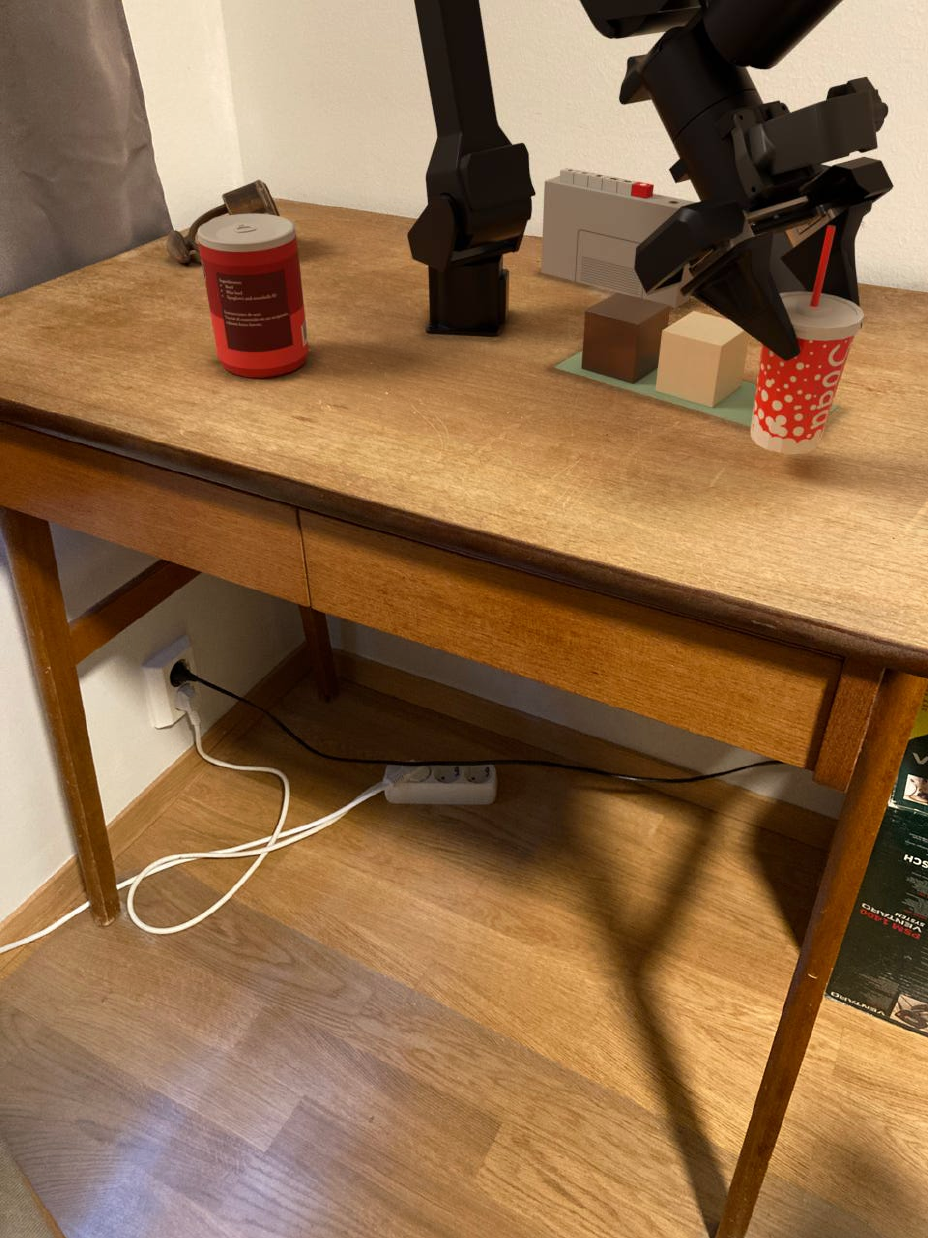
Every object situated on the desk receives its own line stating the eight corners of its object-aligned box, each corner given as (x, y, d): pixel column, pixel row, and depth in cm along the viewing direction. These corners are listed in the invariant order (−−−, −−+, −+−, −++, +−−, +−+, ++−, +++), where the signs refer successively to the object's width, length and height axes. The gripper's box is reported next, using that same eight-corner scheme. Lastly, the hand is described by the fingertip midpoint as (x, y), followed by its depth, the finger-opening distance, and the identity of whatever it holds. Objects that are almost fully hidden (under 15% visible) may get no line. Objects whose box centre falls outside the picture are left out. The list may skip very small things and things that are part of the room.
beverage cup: (775, 467, 65) (824, 248, 56) (720, 426, 69) (757, 217, 61) (850, 448, 67) (908, 234, 58) (792, 410, 71) (838, 205, 62)
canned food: (273, 334, 90) (256, 206, 83) (328, 360, 85) (316, 227, 78) (200, 359, 86) (176, 227, 79) (254, 387, 81) (234, 249, 74)
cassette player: (689, 302, 95) (704, 191, 89) (675, 310, 93) (689, 198, 87) (556, 267, 103) (561, 164, 97) (541, 274, 101) (545, 169, 95)
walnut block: (580, 368, 83) (584, 309, 80) (612, 349, 86) (617, 291, 83) (633, 384, 80) (639, 323, 77) (664, 363, 83) (671, 304, 80)
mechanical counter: (280, 216, 100) (294, 168, 106) (151, 204, 99) (173, 156, 106) (284, 281, 105) (297, 231, 112) (162, 270, 105) (182, 220, 111)
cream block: (655, 391, 79) (662, 329, 76) (685, 369, 82) (693, 310, 79) (712, 408, 77) (722, 345, 74) (741, 385, 80) (752, 325, 77)
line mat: (553, 370, 83) (553, 366, 83) (598, 343, 87) (599, 340, 87) (798, 444, 73) (799, 440, 72) (836, 410, 77) (837, 406, 77)
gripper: (698, 45, 51) (832, 320, 51) (906, 12, 60) (1019, 245, 60) (581, 175, 61) (693, 406, 61) (775, 130, 70) (872, 330, 70)
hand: (824, 344), depth 63 cm, fingers closed on beverage cup, 6 cm apart
